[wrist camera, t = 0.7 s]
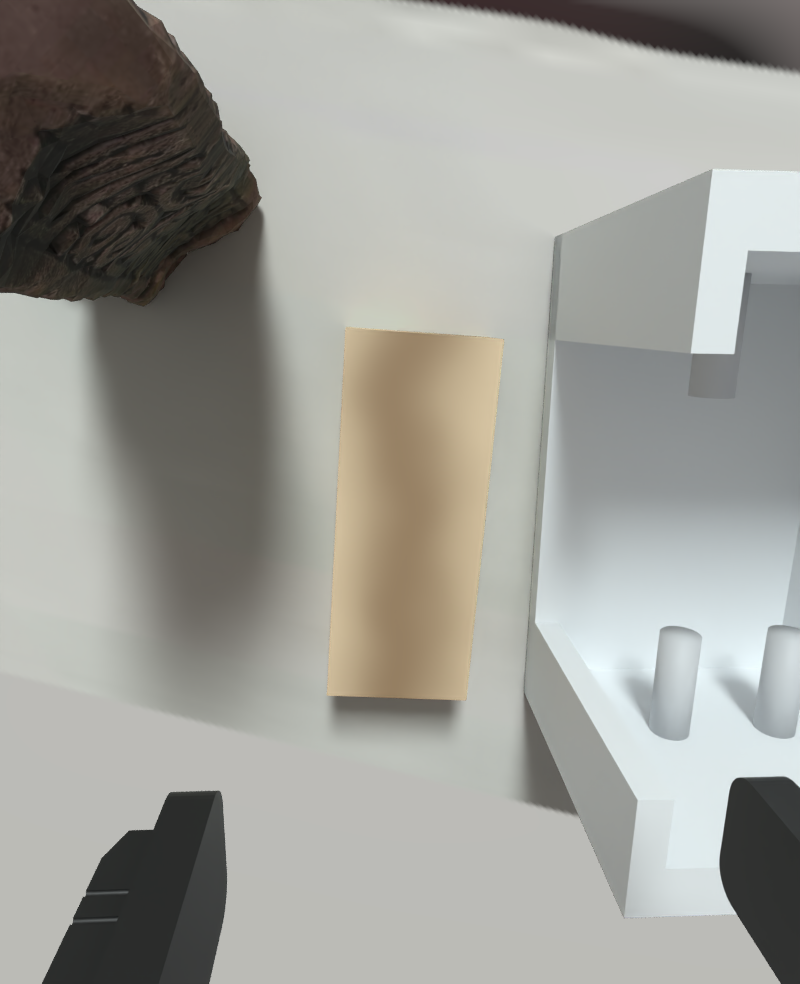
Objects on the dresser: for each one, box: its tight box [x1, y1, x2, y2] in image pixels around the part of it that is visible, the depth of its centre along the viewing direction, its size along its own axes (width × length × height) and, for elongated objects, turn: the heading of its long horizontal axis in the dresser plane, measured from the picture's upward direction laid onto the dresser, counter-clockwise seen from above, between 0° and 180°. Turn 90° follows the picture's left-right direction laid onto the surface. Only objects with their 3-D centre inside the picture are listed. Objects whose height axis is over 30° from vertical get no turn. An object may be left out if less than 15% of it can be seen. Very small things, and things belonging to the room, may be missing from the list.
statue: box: [0, 0, 262, 306], centre depth 15 cm, size 7×7×20 cm
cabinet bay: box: [524, 169, 800, 918], centre depth 23 cm, size 12×19×12 cm, turn 179°
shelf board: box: [327, 327, 504, 700], centre depth 27 cm, size 6×14×4 cm, turn 176°
